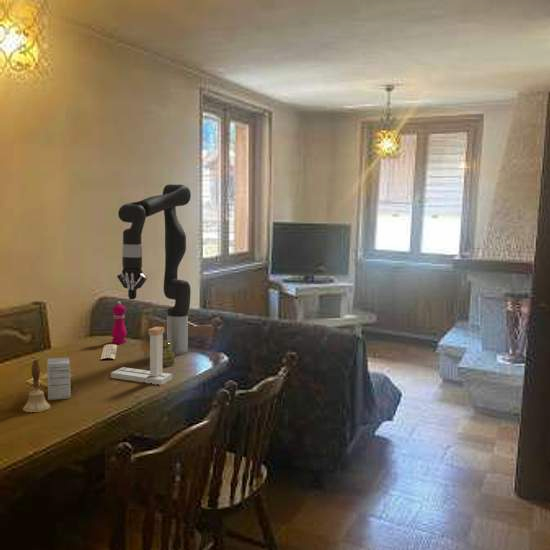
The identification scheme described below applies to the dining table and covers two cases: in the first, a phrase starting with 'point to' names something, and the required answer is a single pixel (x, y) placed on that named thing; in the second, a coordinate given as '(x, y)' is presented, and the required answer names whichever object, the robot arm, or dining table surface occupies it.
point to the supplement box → (58, 378)
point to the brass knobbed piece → (167, 354)
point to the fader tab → (156, 350)
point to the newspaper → (109, 351)
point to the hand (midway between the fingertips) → (132, 298)
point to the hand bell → (36, 393)
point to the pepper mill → (119, 325)
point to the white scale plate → (140, 376)
